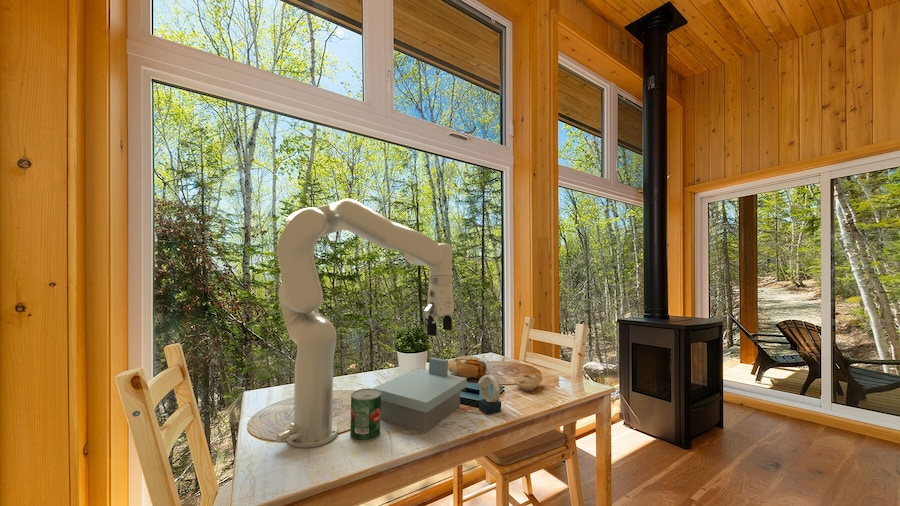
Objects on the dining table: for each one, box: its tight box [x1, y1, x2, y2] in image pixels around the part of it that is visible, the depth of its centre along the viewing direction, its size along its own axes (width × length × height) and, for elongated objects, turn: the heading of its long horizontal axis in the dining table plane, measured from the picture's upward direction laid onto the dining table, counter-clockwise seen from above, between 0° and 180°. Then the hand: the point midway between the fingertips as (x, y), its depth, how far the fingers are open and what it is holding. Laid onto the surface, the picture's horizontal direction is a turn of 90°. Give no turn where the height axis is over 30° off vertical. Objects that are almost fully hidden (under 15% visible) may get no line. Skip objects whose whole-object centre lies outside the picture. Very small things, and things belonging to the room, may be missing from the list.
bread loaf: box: [448, 355, 491, 380], centre depth 144 cm, size 8×22×15 cm
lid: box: [372, 356, 468, 413], centre depth 112 cm, size 23×19×8 cm
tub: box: [380, 391, 461, 434], centre depth 112 cm, size 20×16×8 cm
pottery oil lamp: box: [513, 373, 543, 392], centre depth 134 cm, size 9×12×7 cm
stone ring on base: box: [477, 374, 502, 416], centre depth 114 cm, size 6×8×11 cm
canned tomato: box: [349, 387, 381, 443], centre depth 98 cm, size 8×8×11 cm
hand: (439, 332), depth 120 cm, fingers open, 9 cm apart
